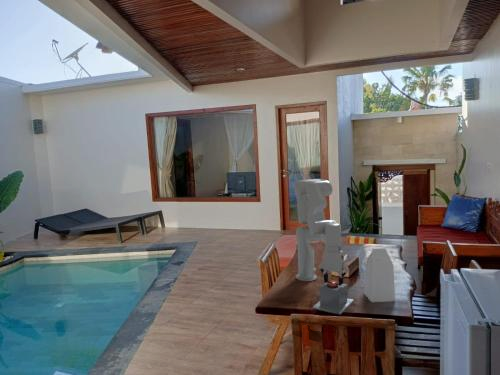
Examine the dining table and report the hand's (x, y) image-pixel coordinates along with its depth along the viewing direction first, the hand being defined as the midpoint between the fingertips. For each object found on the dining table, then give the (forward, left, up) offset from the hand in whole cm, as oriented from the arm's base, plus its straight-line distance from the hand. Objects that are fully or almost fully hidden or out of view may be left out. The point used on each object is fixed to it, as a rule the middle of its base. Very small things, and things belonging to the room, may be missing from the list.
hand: (333, 283), depth 194 cm
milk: (-21, +16, -11) cm, 29 cm away
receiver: (0, 0, -11) cm, 11 cm away
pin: (0, 0, -9) cm, 9 cm away
